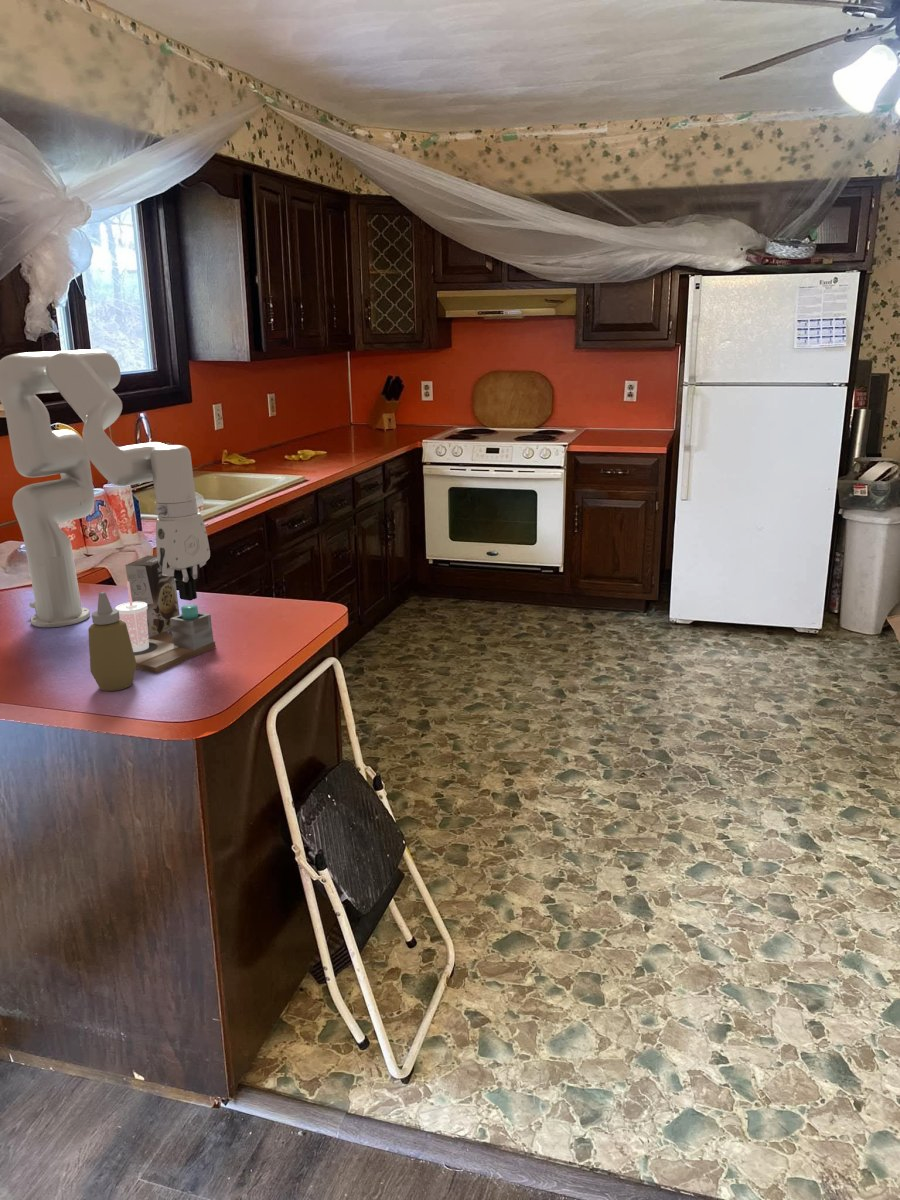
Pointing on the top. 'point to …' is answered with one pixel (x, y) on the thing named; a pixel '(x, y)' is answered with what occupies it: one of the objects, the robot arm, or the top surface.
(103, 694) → the top surface
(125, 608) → the beverage cup
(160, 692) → the top surface
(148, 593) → the coffee box
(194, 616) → the button
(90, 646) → the squeeze bottle
